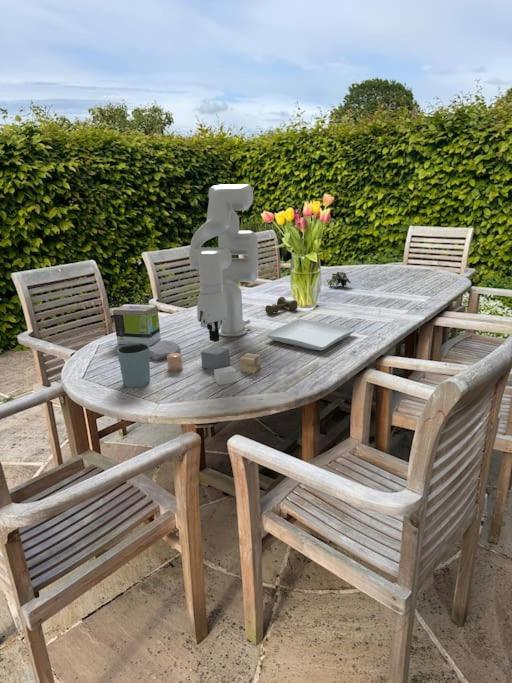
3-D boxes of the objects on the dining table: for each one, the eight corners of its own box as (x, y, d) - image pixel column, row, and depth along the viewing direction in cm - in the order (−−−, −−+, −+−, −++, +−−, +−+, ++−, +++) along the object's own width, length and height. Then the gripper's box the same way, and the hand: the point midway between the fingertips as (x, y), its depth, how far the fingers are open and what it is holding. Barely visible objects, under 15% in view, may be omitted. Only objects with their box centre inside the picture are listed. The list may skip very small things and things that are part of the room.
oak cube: (247, 366, 162) (247, 352, 161) (260, 368, 160) (259, 355, 158) (240, 371, 158) (240, 357, 156) (253, 373, 156) (253, 359, 154)
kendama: (261, 314, 225) (288, 305, 238) (275, 318, 219) (303, 308, 232) (261, 302, 223) (288, 293, 236) (275, 306, 217) (303, 297, 230)
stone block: (183, 357, 177) (166, 347, 183) (184, 346, 175) (166, 336, 180) (159, 367, 169) (142, 357, 174) (159, 356, 167) (141, 346, 172)
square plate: (323, 356, 170) (323, 346, 169) (263, 342, 186) (263, 333, 185) (355, 336, 190) (356, 327, 189) (299, 325, 206) (299, 317, 205)
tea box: (161, 338, 193) (158, 304, 188) (150, 347, 184) (146, 311, 179) (129, 336, 197) (125, 302, 192) (116, 344, 188) (111, 309, 183)
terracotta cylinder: (176, 365, 165) (175, 352, 163) (185, 368, 162) (184, 355, 160) (165, 369, 161) (163, 356, 160) (174, 372, 158) (173, 359, 156)
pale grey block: (231, 377, 154) (231, 366, 152) (236, 381, 150) (235, 370, 149) (214, 380, 151) (214, 369, 150) (219, 385, 148) (218, 373, 147)
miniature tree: (342, 295, 277) (354, 279, 272) (334, 295, 268) (347, 279, 263) (329, 282, 281) (341, 267, 276) (321, 283, 272) (333, 267, 267)
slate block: (214, 360, 168) (213, 345, 166) (229, 364, 164) (229, 348, 162) (202, 367, 162) (201, 351, 160) (218, 371, 159) (217, 355, 157)
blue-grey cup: (115, 387, 148) (111, 352, 144) (129, 375, 157) (125, 341, 153) (145, 389, 146) (141, 354, 142) (157, 376, 155) (154, 343, 151)
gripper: (220, 283, 162) (222, 333, 168) (186, 291, 151) (190, 343, 157) (235, 286, 157) (237, 337, 163) (202, 294, 146) (205, 348, 152)
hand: (214, 340), depth 160 cm, fingers closed
